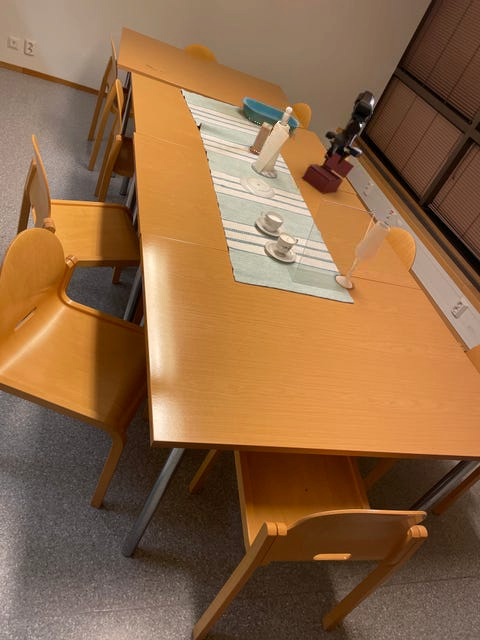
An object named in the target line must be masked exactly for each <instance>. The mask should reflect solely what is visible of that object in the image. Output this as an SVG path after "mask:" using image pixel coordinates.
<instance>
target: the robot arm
mask: <svg viewBox="0 0 480 640" xmlns="http://www.w3.org/2000/svg"><path fill="white" fill-rule="evenodd" d="M375 96H376V95H375V93H373V92H371V91H369V90H365V91H363V92H360V93H358V95H357V97H356V99H355V100H354V102H353V110H352V112H351V114H350V116H351V117H350V119H349V120H348V122H347V123H346V126H345V128H344V129H343V130H342V131H341V132H340V133H336V132H335V131H333V130H332V131H331V130H330V131H327V132H326V133H325V135H324V137H325V138H326V139H328V140H329V143H330V146H329V147H328V149H327V151H326V152H325V155H324V156H323V159H325V160H324V162H323V163H322V165H324V166H325V167H327V168H328V169H329V170H331V171H332V172H333V170H332V169H330V168H329V167H328V166H326V165H325V163H326V162H327V160H328V159H329V158H331V157H332V156H333V154H334V153H337V154H338V155H339V156H341V158H340V160H339V161H338V164H339V163H341V162H342V161H343V160H344V159H345V160H346V159H347V158H349V157H350V156H352V157H353V158H361V156H362V155H363V153H362V150H361V149H359V148H358V147H352V145H353V141H354V140H355V138H357V136H358V135H359V133H360V132H361V131H362V130H361V129H362V125H363V124H367V123H368V122H369V121H370V119H371V117H372V115H373V112H374V110H373V107H374V106H373V105H374V103H375ZM345 149H346V150H345Z"/></svg>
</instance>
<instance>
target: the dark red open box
mask: <svg viewBox="0 0 480 640" xmlns="http://www.w3.org/2000/svg"><path fill="white" fill-rule="evenodd" d="M321 174H322V175H323V176H324V177H323V176H322V175H321ZM325 177H326V178H327V179H328V180H327V179H326V178H325ZM302 179H303V180H304V181H305V182H307V183H308V184H310V185H311V186H312V187H314V189H316V190H317V191H319V192H320V193H321V194H326V193H334V192H337V191H338V189H339V188H340V186H341V184H342V183H343V181H344V178H343V177H341V176H340V175H339V174H337V173H336V172H335V171H333V170H332V171H331V170H329V169H328V168H327V167H325V166H324V165H323V164H322V165H321V164H320V165H319V164H317V163H312V164H309V165H308V166H307V168H306V170H305V172H304V174H303V176H302Z"/></svg>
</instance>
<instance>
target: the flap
mask: <svg viewBox="0 0 480 640" xmlns="http://www.w3.org/2000/svg"><path fill="white" fill-rule="evenodd" d="M340 158H341V156H339V155H338V154H337V153H334V154H333V156H332V157H331V158H329V159H328V160H327V162H326V163H325V165H326V166H328V167H329V168H330V169H332V172H334V173H335V174H336V175H338V176H339V177H340V178H342V179H345V178H346V177H347V176H348V174H349V173H350V172H351V171H352V169H353V168H355V165H354V164H352V163H350V162H349V161H348V160H346V159H344V160H343V161H342V162H341V163H339V164H338V161H339V160H340Z"/></svg>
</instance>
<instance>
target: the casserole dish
mask: <svg viewBox="0 0 480 640" xmlns="http://www.w3.org/2000/svg"><path fill="white" fill-rule="evenodd" d="M241 102H242V104H243V105H242V110H243V113H244V114H245V116H246V118H247V119H248V120H249V121H250V122H252V123H254V124H256V125H259V126H262V124H263V123H264V122H266V123H268V124H270V125H272V126H273V127H274V125H275V124H276V123H277V122H278V121H279V120H281V119H282V116H283V114H284V112H285V111H284V110H281V109H279V108H276V107H273V106H271V105H268V104H266V103H263V102H261V101H258V100H256V99H254V98H251V97H244V98H243V99H241ZM249 118H250V119H249ZM273 118H274V119H273ZM276 119H277V120H276ZM255 121H256V122H255ZM257 122H258V123H257ZM259 123H260V124H259ZM288 125H289V126H290V129H289V134H288V135H291V134H292V133H294V132H295V131H296V130H297V129H298V127H299V126H300V122H299V121H298V120H297V119H296V118H294V117H293V116H292V115H291V116H290V119H289V121H288ZM271 130H273V128H272V129H271Z"/></svg>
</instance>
